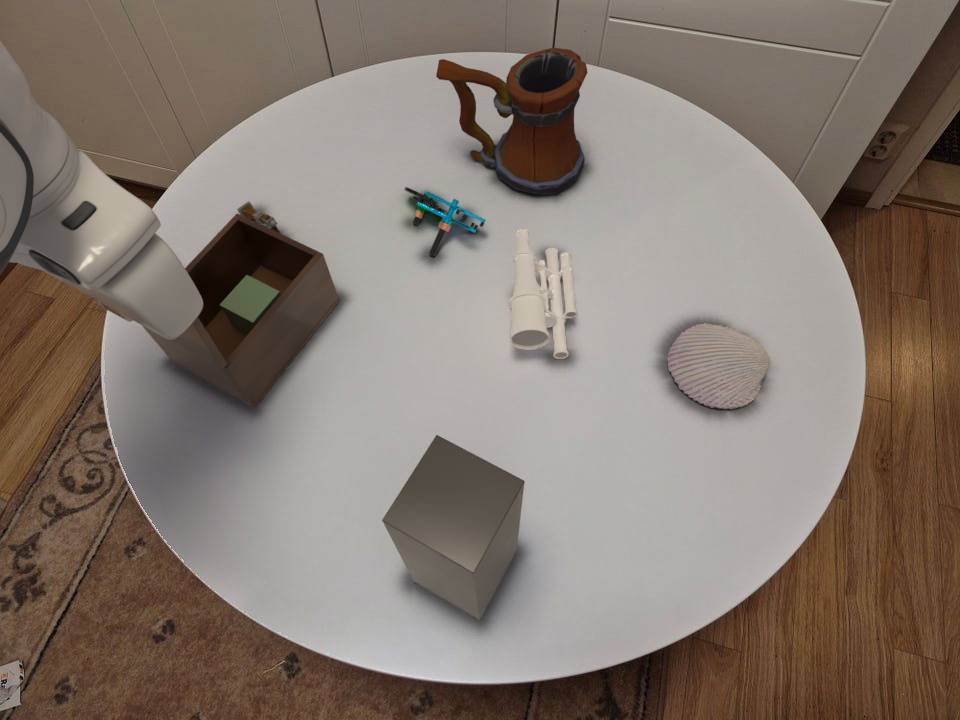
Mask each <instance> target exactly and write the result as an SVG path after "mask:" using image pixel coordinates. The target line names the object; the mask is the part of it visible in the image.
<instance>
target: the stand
mask: <svg viewBox="0 0 960 720" xmlns="http://www.w3.org/2000/svg"><path fill="white" fill-rule="evenodd" d="M525 483H526V482H525V479H522V478H520V477H519V476H516V475H514V474H512V473H511V472H509V471H507V470H505V469H503V468H501V467H499V466H497V465H495V464H494V463H492V462H490V461H488V460H486V459H484V458H483V457H480V456H478V455H476V454H474V453H472V452H471V451H469V450H467V449H465V448H463V447H461V446H459V445H458V444H456V443H453V442H452V441H449V440H448V439H446V438H444V437H442V436H440V435H438V434H435V436H434V437H433V440H432V441H431V443H430V444H429V446H428V447H427V449H426V451H425V452H424V453H423V455H422V456H421V458H420V460H419V462H418V463H417V465H416V466H415V467H414V469H413V471H412V472H411V474H410V476H409V477H408V479H407V480H406V481H405V484H404V485H403V486H402V488H401V489H400V491H399V493H398V494H397V496H396V498H395V499H394V501H393V503H392V504H391V505H390V507H389V508H388V510H387V511H386V513H385V514H384V517H382V519H381V521H382V523H383V524H384V527H385V529H386V531H387V533H388V535H389V537H390V539H391V541H392V543H393V544H394V546H395V548H396V550H397V552H398V554H399V556H400V558H401V561H402V562H403V564H404V565H405V567H406V569H407V571H408V573H409V575H410V577H411V579H412V581H413V582H414V583H415V584H417V585H419V586H420V587H422V588H423V589H426V590H427V591H429V592H430V593H433V594H434V595H435V596H437V597H438V598H440V599H443V600H444V601H446V602H448V603H449V604H451V605H453V606H454V607H456V608H457V609H459V610H461V611H463V612H464V613H465V614H468V615H469V616H471V617H473V618H475V619H476V620H478V621H481V619H482V617H483V615H484V614H485V612H486V609H487V608H488V606H489V604H490V602H491V600H492V599H493V596H494V595H495V593H496V591H497V589H498V588H499V586H500V583H501V581H502V580H503V578H504V577H505V574H506V572H507V571H508V568H509V566H510V565H511V562H512V560H513V559H514V557H515V555H516V552H517V549H518V540H519V531H520V523H521V514H522V507H523V498H524V492H525V491H524V490H525Z"/></svg>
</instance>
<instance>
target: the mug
mask: <svg viewBox="0 0 960 720" xmlns="http://www.w3.org/2000/svg"><path fill="white" fill-rule="evenodd" d="M588 73H589V72H588V67H587V63H586V62H584V61H582V58H581V55H580V54H578V53H576V52H575V51H573V50H572V49H567V48H560V47H550V48H547V49H546V48H545V49H542V50H538V51H535V52H532V53H529V54H526V55H524V56H523V57H521V59H520V60H518V61H516V63H514V64H513V65H512V66H511V67H510V69H509V71H508V73H507V75H506V78H505V79H506V80H505V81H504V80H503V79H501V78H500V77H498V76H497V75H495V74H492V73H490V72H487V71H484V70H481V69H475V68H470V67H465V66H464V65H461V64H458V63H456V62H454V61H451V60H447V59H444V58H442V59H441V58H440V59H439V60H438V64H437V70H436V74H435V75H436V76H435V77H436V78H437V79H438V80H439V81H440V80H441V81H449V82H450V83H451V85H452V86H453V88H454V90H455V92H456V94H457V96H458V100H459V106H460V110H459V111H460V113H459V120H458V123H459V125H460V128H461V131H462V132H464V133H465V134H466V135H467V136H469V137H470V138H473V139H475V140H476V141H478V143H480V144H481V146H482V148H481V150H480V151H478V150H475V149H472V150H471V151H470V152H469V155H470V156H471V158H472V159H473V160H474V161H475V162H479V163H488V164H491V165H494V167H495V171H496V175H497V178H498V179H499V180H501V181H502V182H503V183H505V184H506V185H508V186H509V187H511V189H514V190H515V191H518V192H523V193H529V194H534V195H557V194H559V193H560V192H562V191H564V190H565V189H566V188H568V187H569V186H572V184H574V183H575V182H576V180H577V178H578V176H579V175H580V173H581V171H582V169H583V168H584V165H585V155H584V152H583V149H582V146H581V143H580V142H579V140H577V136H576V132H575V108H576V106H577V103H578V102H579V100H580V97H581V94H580V89H581V87H582V86H583V83H584V82H585V79H586V77H587V75H588ZM467 83H469V84H470V83H471V84H475V85H480V86H484V87H487V88H490V89H492V90H493V91H494V92H495V96H494V97H493V105H494V108H495V109H496V111H497V114H498V116H499V117H501V118H503V119H508V118H509V117H510V116H513V117H512V123H511V124H510V126H509V127H508V130H507V131H506V132H504V133H502V134H501V137H500V139H499V140H498V142H497V144H495V141H494V140H493V139H492V137H491V135H490V134H489V133H488V132H487V131H485V130H484V129H483V127H481V126H480V125H479V124H478V123H477V121H476V114H477V100H476V98H475V94H474V92H473V91H472V89H471V88H470V86H469V85H468V84H467Z"/></svg>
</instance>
